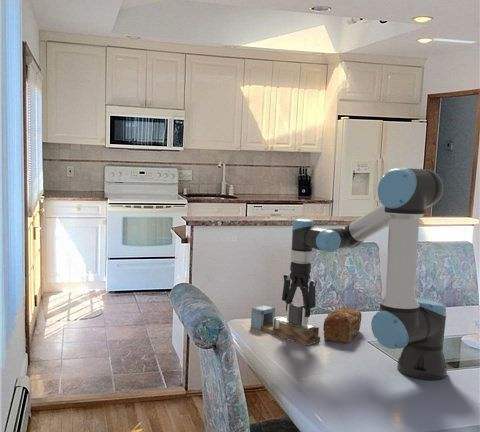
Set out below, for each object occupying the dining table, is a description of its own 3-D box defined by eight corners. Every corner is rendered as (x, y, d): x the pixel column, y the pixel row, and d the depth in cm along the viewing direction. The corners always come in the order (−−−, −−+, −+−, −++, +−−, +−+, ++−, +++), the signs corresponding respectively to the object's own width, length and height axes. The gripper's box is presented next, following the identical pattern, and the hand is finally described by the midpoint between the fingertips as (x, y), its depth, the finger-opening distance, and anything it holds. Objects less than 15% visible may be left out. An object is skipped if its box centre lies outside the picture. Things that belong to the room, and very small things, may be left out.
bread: (349, 345, 203) (351, 318, 202) (320, 339, 207) (322, 313, 206) (361, 331, 220) (363, 306, 219) (335, 326, 224) (336, 302, 223)
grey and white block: (313, 336, 205) (315, 307, 204) (306, 338, 202) (308, 309, 201) (279, 325, 216) (281, 298, 215) (272, 327, 213) (274, 300, 212)
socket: (274, 326, 221) (275, 307, 220) (260, 330, 215) (261, 310, 214) (264, 323, 224) (265, 304, 223) (250, 326, 218) (251, 308, 217)
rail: (320, 340, 206) (320, 327, 205) (306, 345, 200) (307, 331, 199) (264, 323, 224) (265, 310, 223) (250, 326, 218) (251, 314, 218)
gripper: (328, 264, 201) (324, 327, 204) (286, 256, 214) (283, 315, 217) (316, 267, 196) (312, 331, 198) (274, 258, 209) (270, 318, 211)
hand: (297, 322), depth 207 cm, fingers open, 6 cm apart
